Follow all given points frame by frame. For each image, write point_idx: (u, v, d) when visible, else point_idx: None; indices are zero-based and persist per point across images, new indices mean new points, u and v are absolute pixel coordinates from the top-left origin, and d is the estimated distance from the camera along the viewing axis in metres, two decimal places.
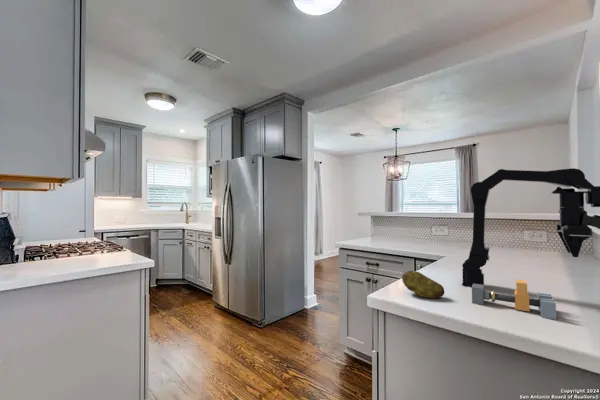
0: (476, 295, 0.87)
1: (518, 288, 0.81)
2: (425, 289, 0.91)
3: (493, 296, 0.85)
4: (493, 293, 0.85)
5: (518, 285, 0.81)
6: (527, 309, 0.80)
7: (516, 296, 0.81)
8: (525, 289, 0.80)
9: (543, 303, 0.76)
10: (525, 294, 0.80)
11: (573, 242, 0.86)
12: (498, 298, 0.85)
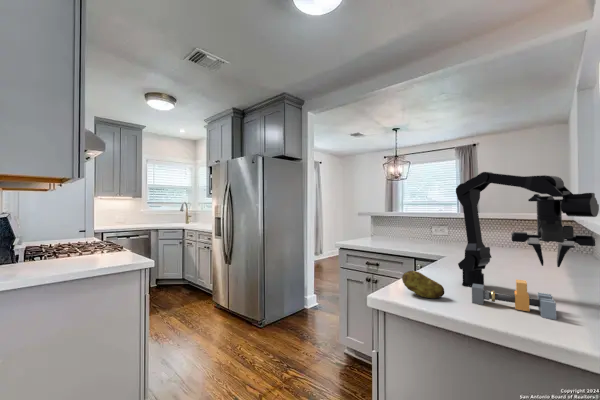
0: (476, 295, 0.87)
1: (518, 288, 0.81)
2: (425, 289, 0.91)
3: (493, 296, 0.85)
4: (493, 293, 0.85)
5: (518, 285, 0.81)
6: (527, 309, 0.80)
7: (516, 296, 0.81)
8: (525, 289, 0.80)
9: (543, 303, 0.76)
10: (525, 294, 0.80)
11: None
12: (498, 298, 0.85)
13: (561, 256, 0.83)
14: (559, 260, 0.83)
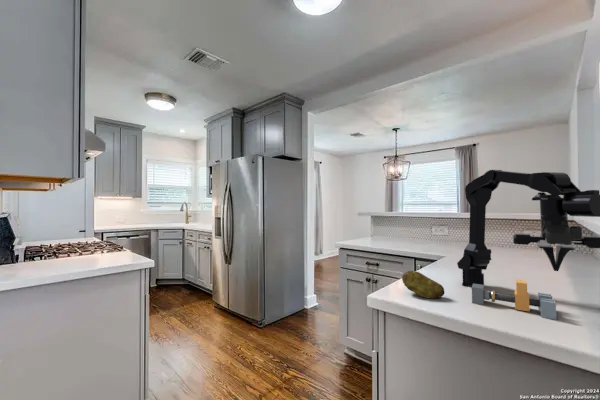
0: (476, 295, 0.87)
1: (518, 288, 0.81)
2: (425, 289, 0.91)
3: (493, 296, 0.85)
4: (493, 293, 0.85)
5: (518, 285, 0.81)
6: (527, 309, 0.80)
7: (516, 296, 0.81)
8: (525, 289, 0.80)
9: (543, 303, 0.76)
10: (525, 294, 0.80)
11: None
12: (498, 298, 0.85)
13: (560, 259, 0.77)
14: (558, 263, 0.77)
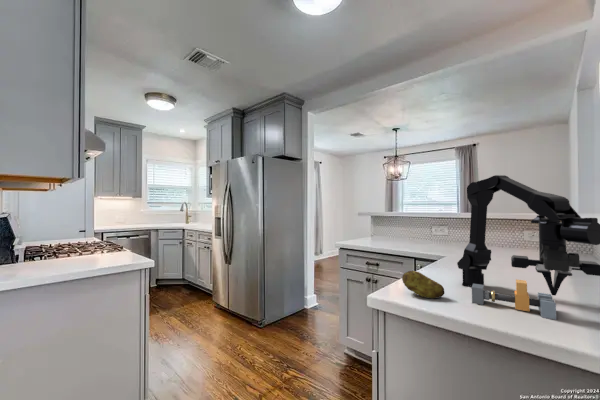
0: (476, 295, 0.87)
1: (518, 288, 0.81)
2: (425, 289, 0.91)
3: (493, 296, 0.85)
4: (493, 293, 0.85)
5: (518, 285, 0.81)
6: (527, 309, 0.80)
7: (516, 296, 0.81)
8: (525, 289, 0.80)
9: (543, 303, 0.76)
10: (525, 294, 0.80)
11: None
12: (498, 298, 0.85)
13: (557, 284, 0.77)
14: (555, 288, 0.77)
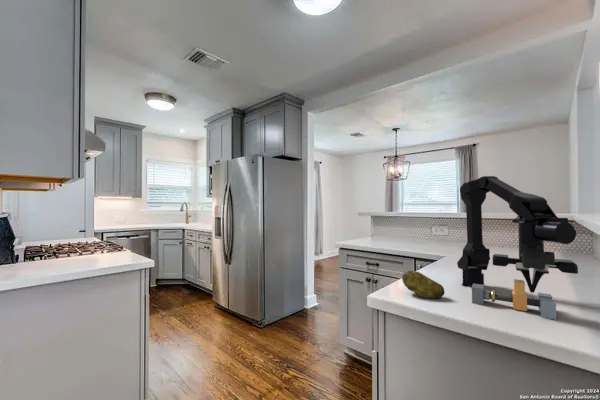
0: (476, 295, 0.87)
1: (516, 288, 0.81)
2: (425, 289, 0.91)
3: (493, 296, 0.85)
4: (493, 293, 0.85)
5: (516, 285, 0.81)
6: (525, 309, 0.80)
7: (514, 296, 0.81)
8: (523, 289, 0.80)
9: (543, 303, 0.76)
10: (523, 294, 0.80)
11: None
12: (498, 298, 0.85)
13: (535, 281, 0.79)
14: (533, 285, 0.80)
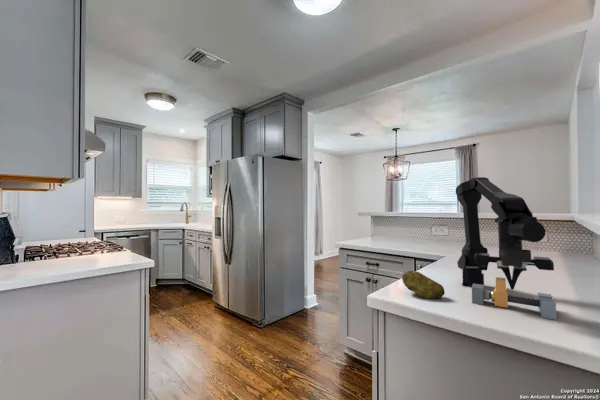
0: (476, 295, 0.87)
1: (497, 285, 0.84)
2: (425, 289, 0.91)
3: (493, 296, 0.85)
4: (493, 293, 0.85)
5: (497, 282, 0.84)
6: (505, 305, 0.82)
7: (495, 293, 0.84)
8: (504, 286, 0.83)
9: (543, 303, 0.76)
10: (504, 291, 0.83)
11: None
12: None
13: (515, 278, 0.82)
14: (513, 283, 0.83)
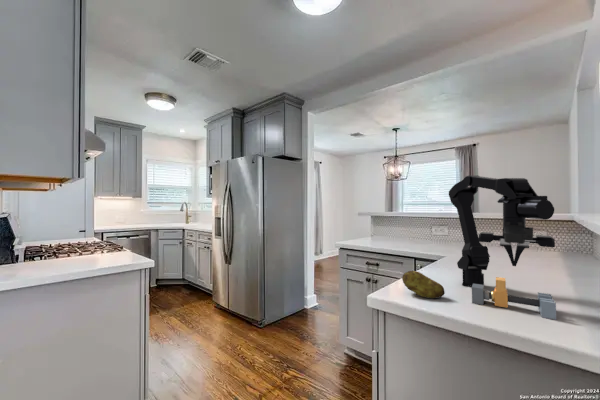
0: (476, 295, 0.87)
1: (497, 285, 0.84)
2: (425, 289, 0.91)
3: (493, 296, 0.85)
4: (493, 293, 0.85)
5: (497, 282, 0.84)
6: (505, 305, 0.82)
7: (495, 293, 0.84)
8: (504, 286, 0.83)
9: (543, 303, 0.76)
10: (504, 291, 0.83)
11: None
12: None
13: (517, 256, 0.86)
14: (515, 259, 0.87)
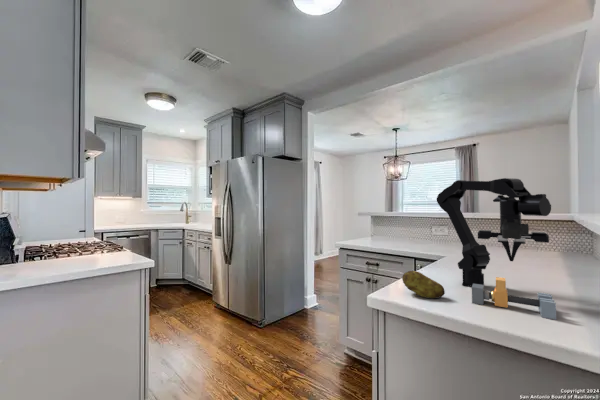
0: (476, 295, 0.87)
1: (497, 285, 0.84)
2: (425, 289, 0.91)
3: (493, 296, 0.85)
4: (493, 293, 0.85)
5: (497, 282, 0.84)
6: (505, 305, 0.82)
7: (495, 293, 0.84)
8: (504, 286, 0.83)
9: (543, 303, 0.76)
10: (504, 291, 0.83)
11: None
12: None
13: (514, 251, 0.92)
14: (512, 255, 0.92)
